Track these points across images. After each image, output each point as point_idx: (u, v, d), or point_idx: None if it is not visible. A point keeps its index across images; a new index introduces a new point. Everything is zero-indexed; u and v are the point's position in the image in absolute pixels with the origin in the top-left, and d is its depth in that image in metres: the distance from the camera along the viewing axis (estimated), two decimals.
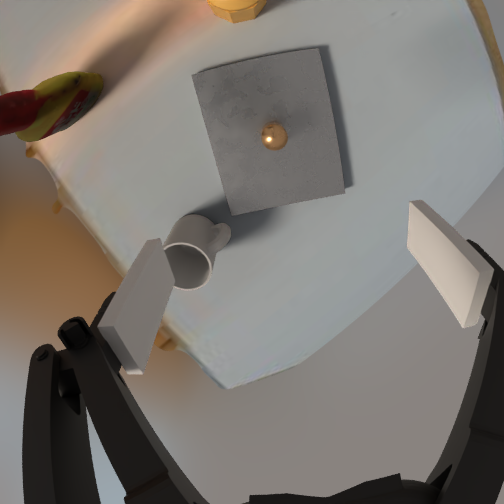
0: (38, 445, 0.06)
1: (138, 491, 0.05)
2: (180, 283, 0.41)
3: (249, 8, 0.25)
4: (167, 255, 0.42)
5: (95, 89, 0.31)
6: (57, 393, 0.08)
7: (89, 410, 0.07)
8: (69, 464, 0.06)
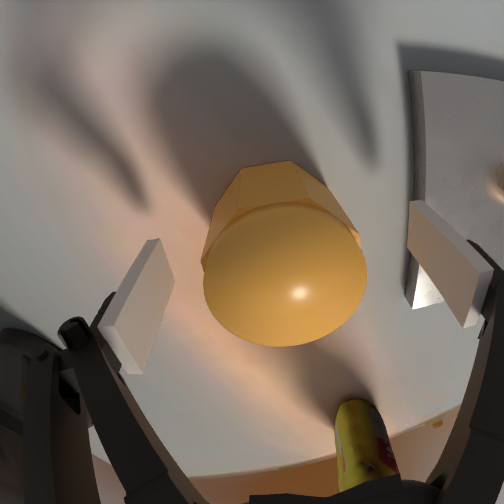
0: (38, 445, 0.06)
1: (138, 491, 0.05)
2: None
3: (358, 245, 0.12)
4: None
5: (371, 424, 0.24)
6: (57, 393, 0.08)
7: (89, 410, 0.07)
8: (69, 464, 0.06)
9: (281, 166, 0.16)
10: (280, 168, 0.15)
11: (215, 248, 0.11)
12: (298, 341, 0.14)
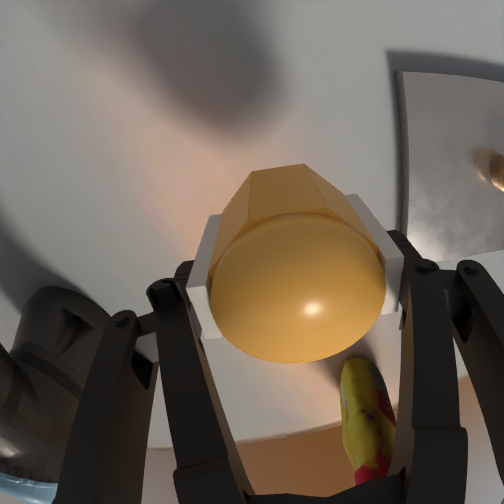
0: (93, 418, 0.07)
1: (190, 468, 0.05)
2: None
3: (377, 258, 0.11)
4: None
5: (372, 378, 0.29)
6: (129, 365, 0.09)
7: (162, 374, 0.08)
8: (122, 442, 0.07)
9: (293, 170, 0.15)
10: (293, 172, 0.14)
11: (223, 262, 0.10)
12: (310, 359, 0.13)
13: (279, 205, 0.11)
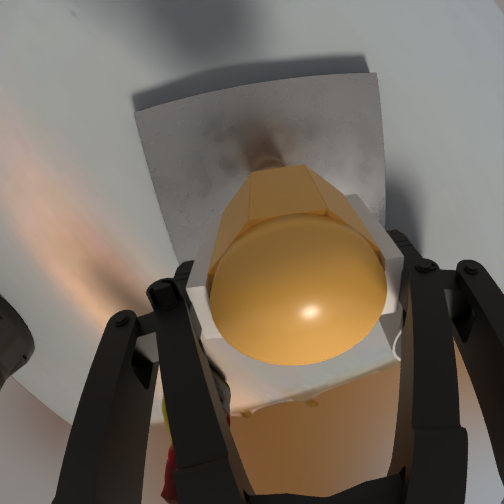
0: (93, 418, 0.07)
1: (191, 468, 0.05)
2: None
3: None
4: None
5: None
6: (128, 365, 0.09)
7: (162, 375, 0.08)
8: (122, 442, 0.07)
9: (294, 170, 0.15)
10: (293, 173, 0.14)
11: (223, 264, 0.10)
12: (310, 361, 0.13)
13: (279, 206, 0.11)
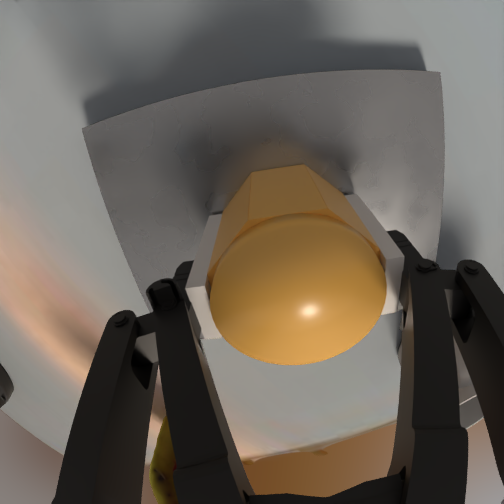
0: (93, 418, 0.07)
1: (190, 468, 0.05)
2: None
3: None
4: None
5: None
6: (128, 365, 0.09)
7: (162, 375, 0.08)
8: (122, 442, 0.07)
9: (294, 170, 0.15)
10: (294, 173, 0.14)
11: (223, 263, 0.10)
12: (310, 360, 0.13)
13: (279, 206, 0.11)
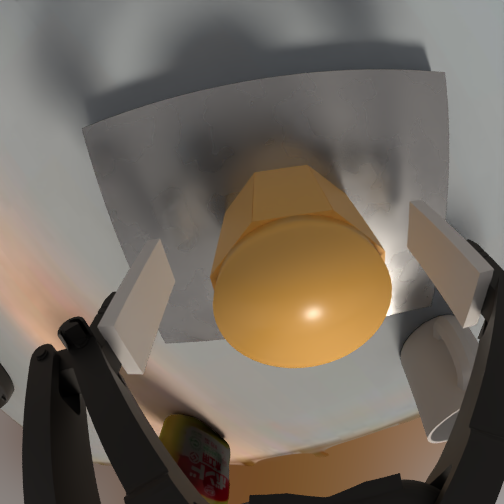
0: (38, 445, 0.06)
1: (138, 491, 0.05)
2: None
3: None
4: None
5: (181, 440, 0.26)
6: (57, 393, 0.08)
7: (89, 410, 0.07)
8: (69, 464, 0.06)
9: (297, 171, 0.14)
10: (297, 173, 0.14)
11: (227, 266, 0.10)
12: (314, 363, 0.12)
13: (283, 207, 0.11)
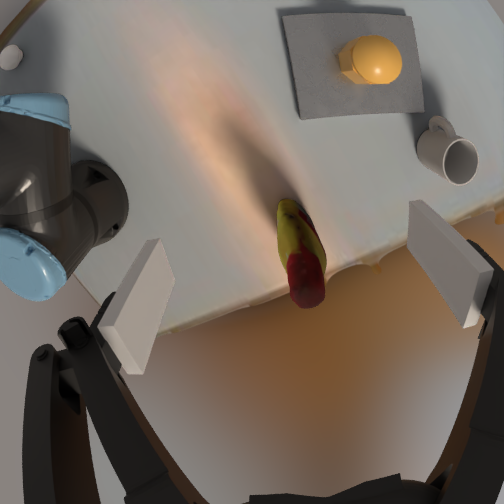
0: (38, 445, 0.06)
1: (138, 491, 0.05)
2: (471, 171, 0.37)
3: None
4: (446, 175, 0.40)
5: (296, 205, 0.45)
6: (57, 393, 0.08)
7: (89, 410, 0.07)
8: (69, 464, 0.06)
9: None
10: None
11: (358, 42, 0.29)
12: (383, 82, 0.31)
13: None
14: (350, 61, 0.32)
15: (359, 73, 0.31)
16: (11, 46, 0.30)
